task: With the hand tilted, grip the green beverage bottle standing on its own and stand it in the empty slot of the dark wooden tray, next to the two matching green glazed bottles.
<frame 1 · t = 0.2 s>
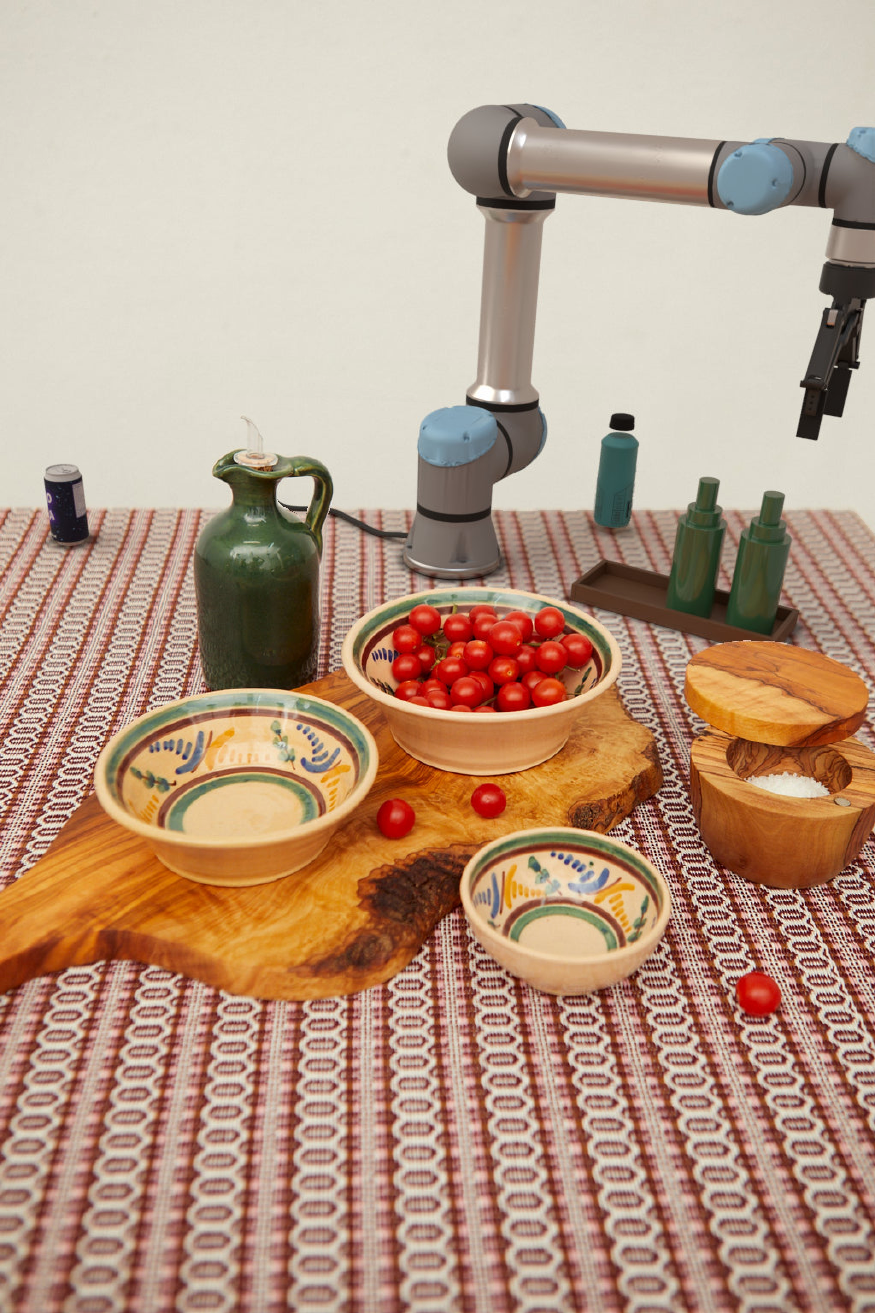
hand: (819, 426, 149), 28 cm above the table, tool pointing down, fingers open, 13 cm apart
tray: (681, 612, 160), on the table
green bottle A: (688, 610, 160), resting on tray
beverage bottle: (609, 530, 188), on the table
beverage can: (71, 541, 175), on the table
green bottle B: (748, 627, 156), resting on tray
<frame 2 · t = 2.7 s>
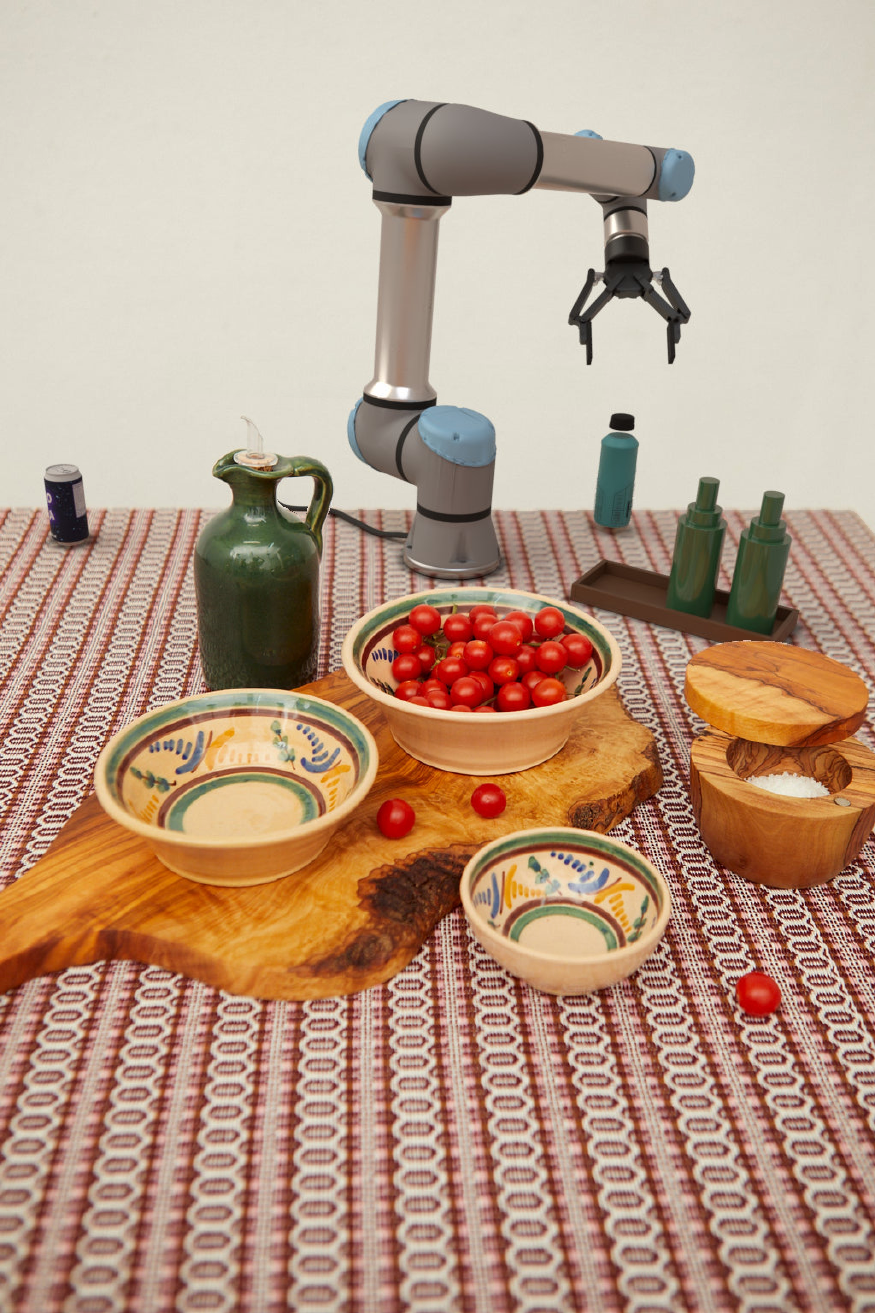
hand: (630, 360, 182), 27 cm above the table, tool tilted 40°, fingers open, 13 cm apart
nothing on the table moved.
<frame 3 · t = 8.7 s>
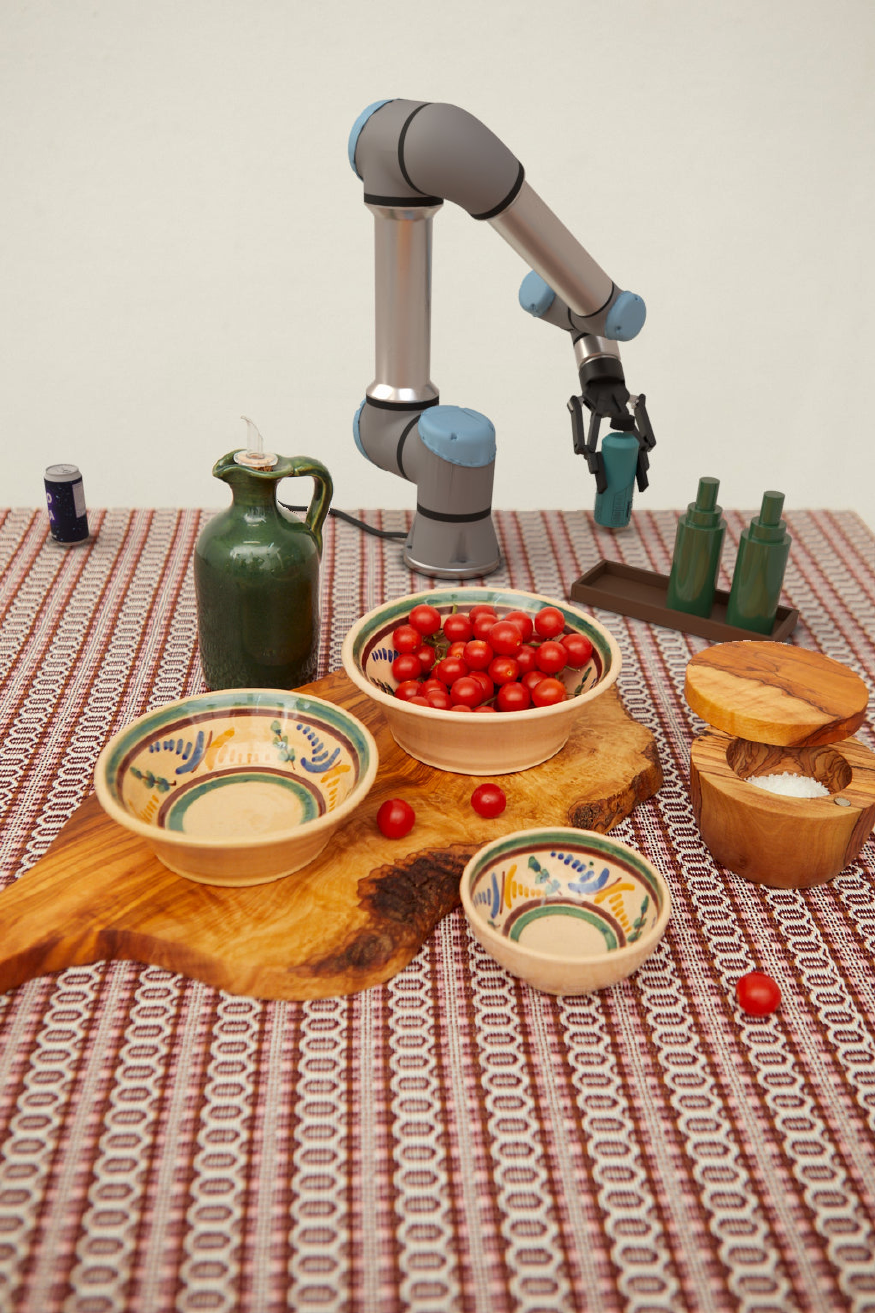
hand: (623, 489, 181), 8 cm above the table, tool tilted 45°, fingers closed on beverage bottle, 6 cm apart
beverage bottle: (609, 530, 188), on the table, touching gripper
everything else where it was.
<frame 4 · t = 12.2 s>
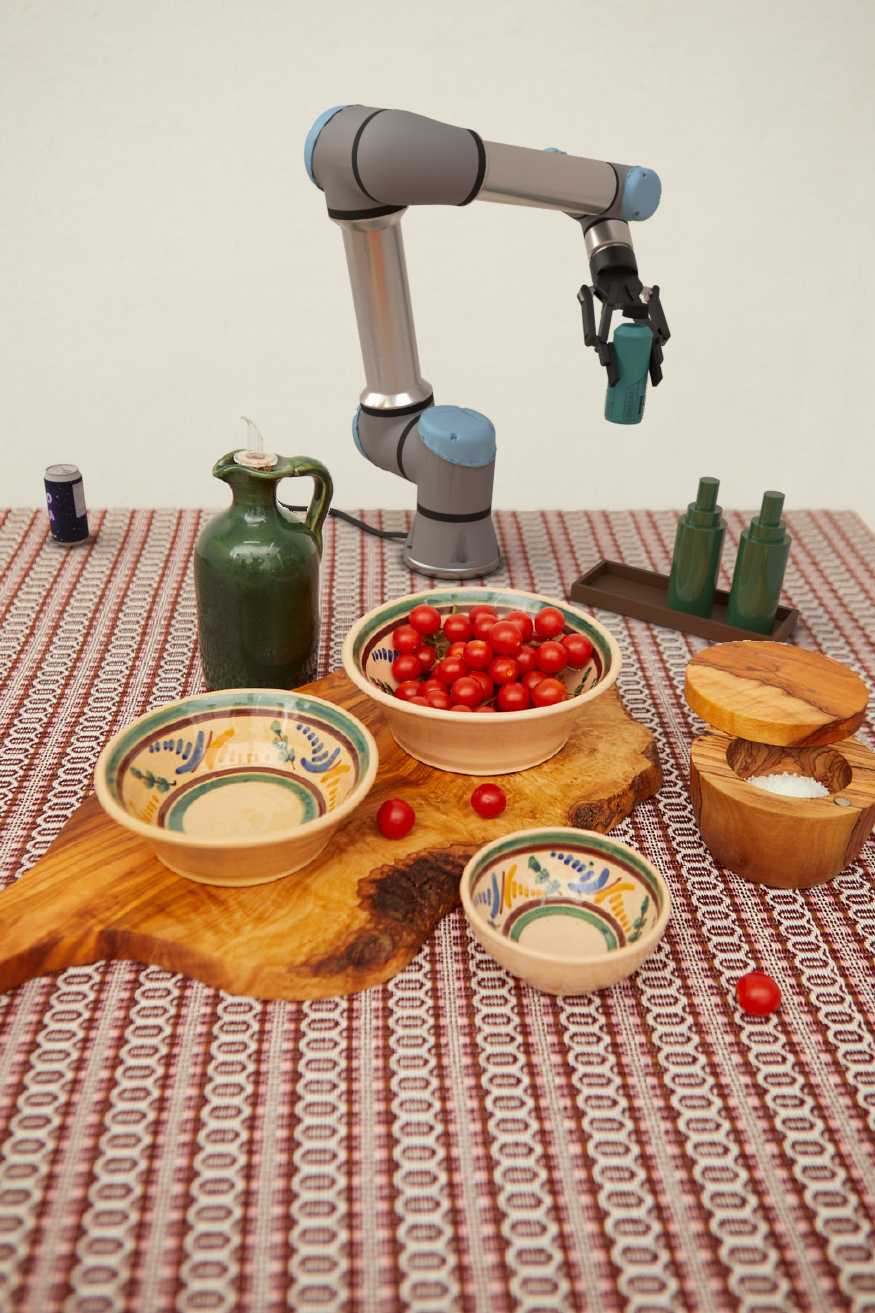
hand: (636, 382, 173), 26 cm above the table, tool tilted 45°, fingers closed on beverage bottle, 6 cm apart
beverage bottle: (621, 429, 180), point 18 cm above the table, touching gripper
everything else where it was.
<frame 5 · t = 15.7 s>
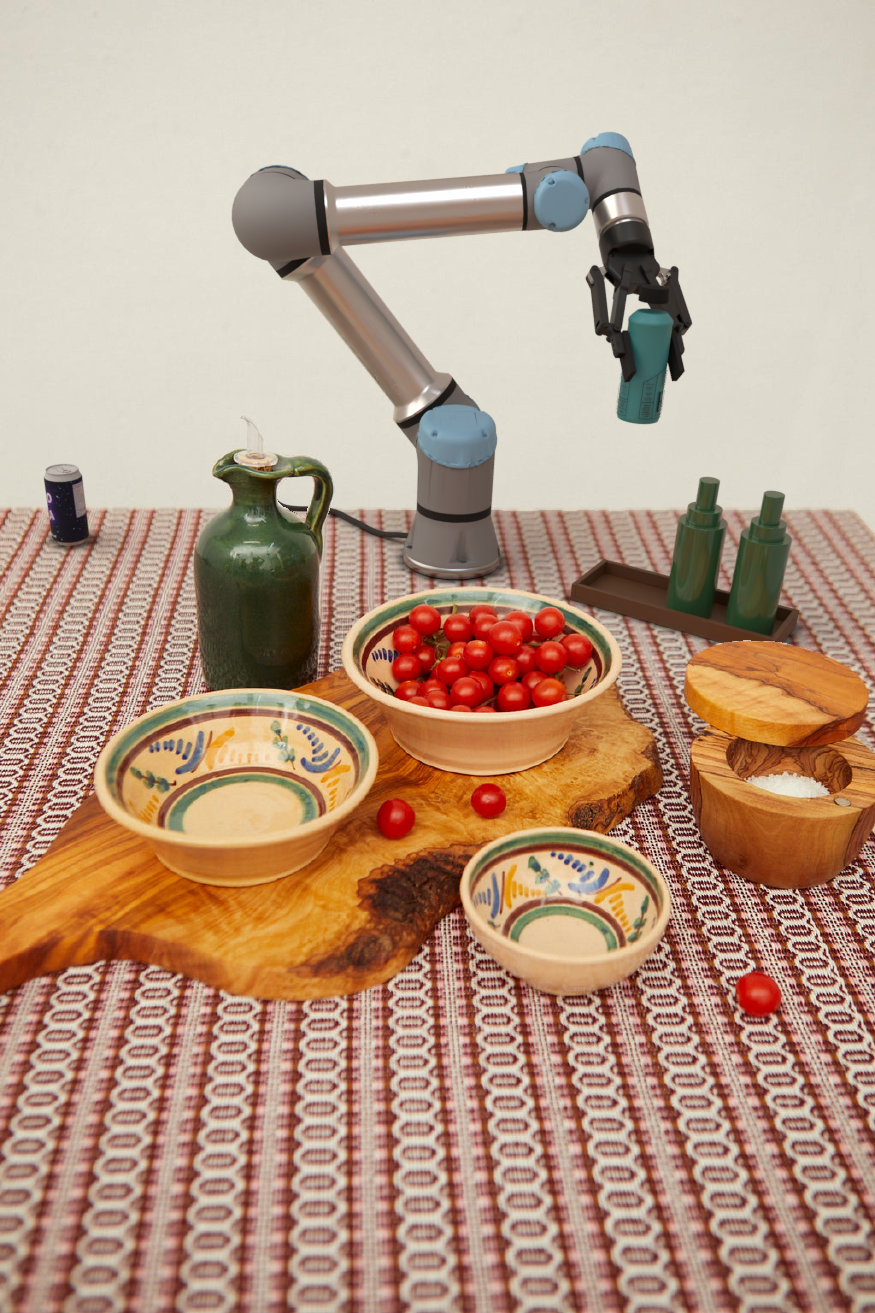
hand: (654, 376, 152), 32 cm above the table, tool tilted 45°, fingers closed on beverage bottle, 6 cm apart
beverage bottle: (635, 429, 159), point 24 cm above the table, touching gripper
everything else where it was.
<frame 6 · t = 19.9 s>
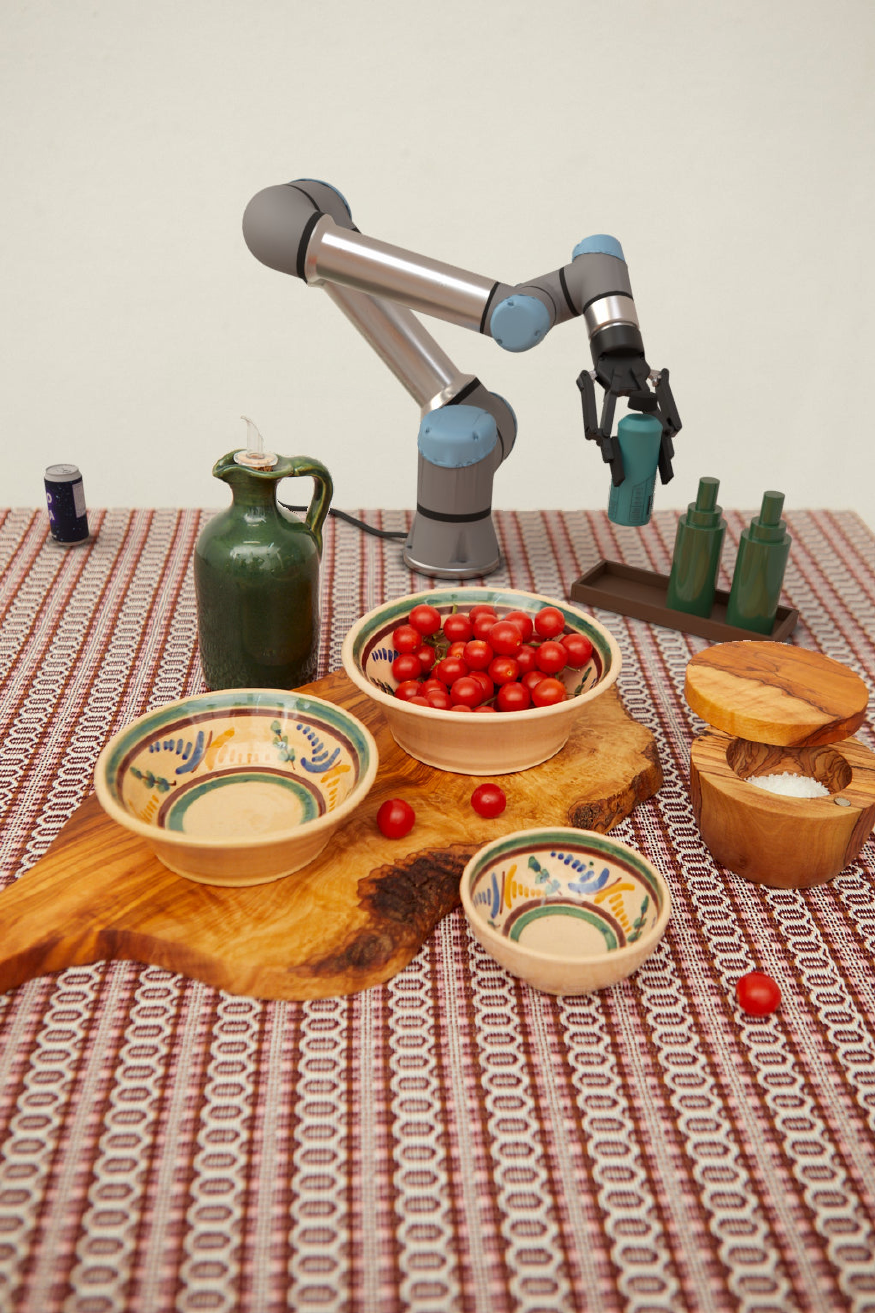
hand: (643, 481, 153), 19 cm above the table, tool tilted 45°, fingers closed on beverage bottle, 6 cm apart
beverage bottle: (626, 529, 160), point 11 cm above the table, touching gripper
everything else where it was.
when the fingers open (9 cm above the table, at t = 23.0 s): beverage bottle stays where it is, resting on tray.
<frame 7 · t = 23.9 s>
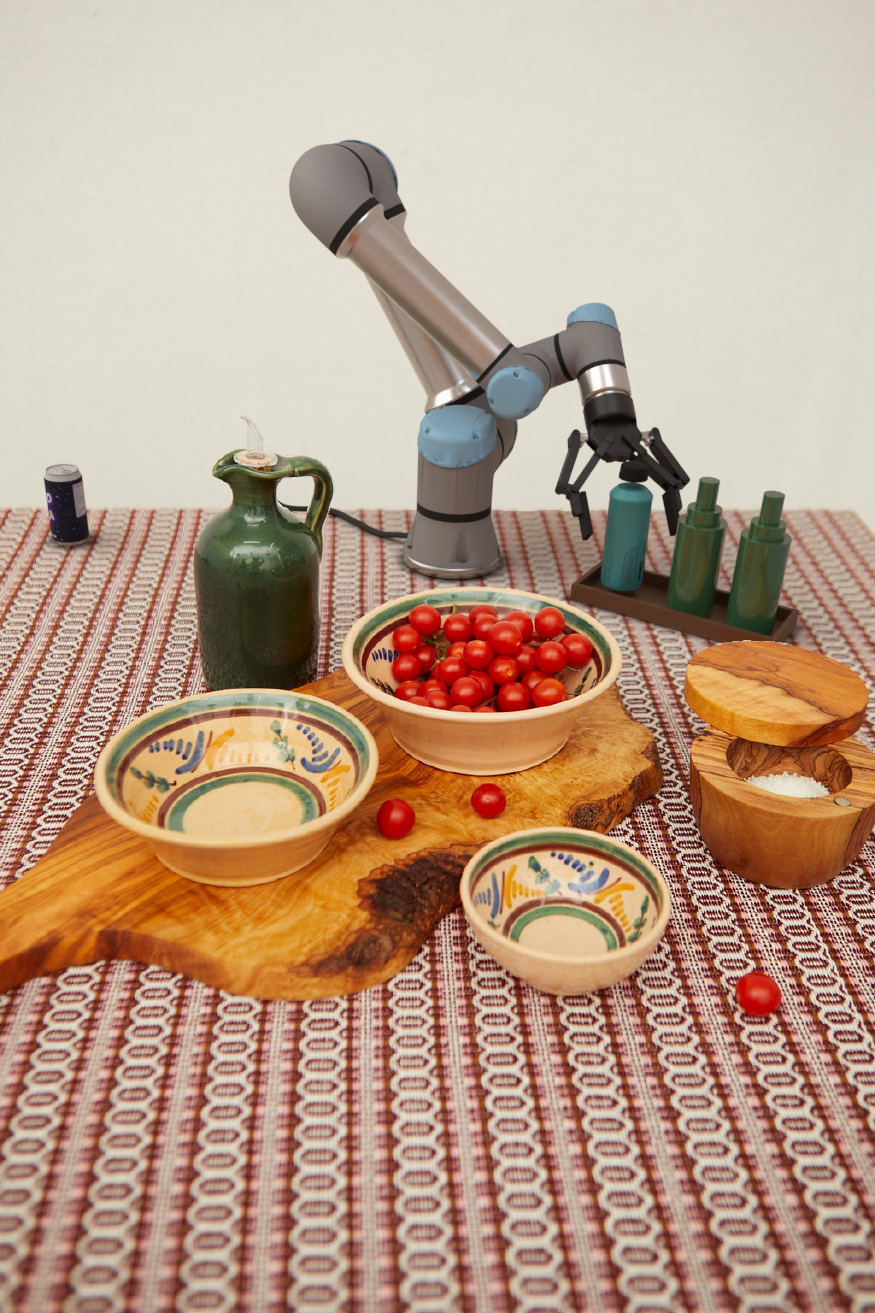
hand: (632, 534, 158), 11 cm above the table, tool tilted 45°, fingers open, 13 cm apart
beverage bottle: (619, 592, 165), resting on tray
everything else where it was.
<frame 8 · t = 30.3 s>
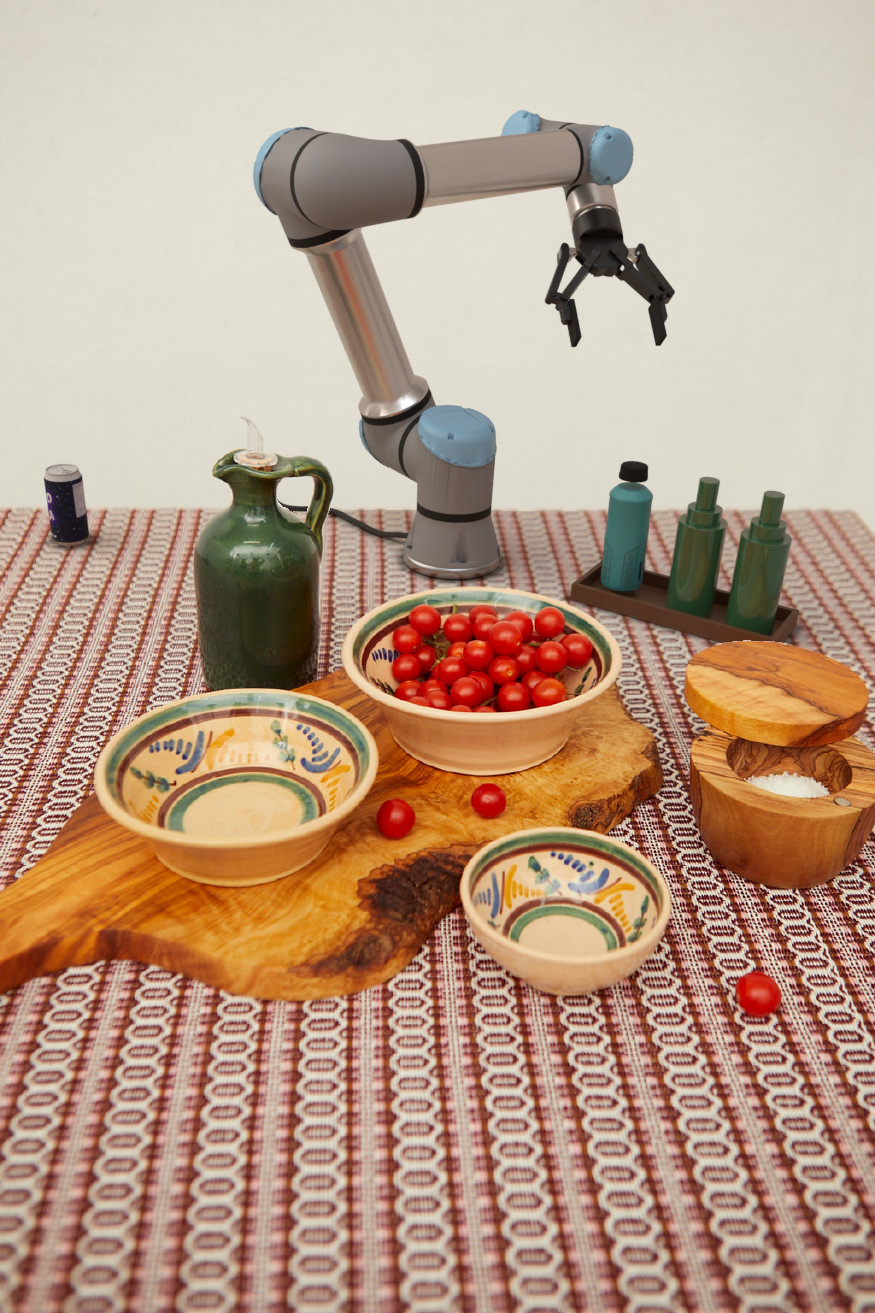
hand: (619, 341, 164), 34 cm above the table, tool tilted 45°, fingers open, 13 cm apart
nothing on the table moved.
at the end: beverage bottle inside the target area in the tray (0.1 cm from its centre), point 0.4 cm above the tray's base; beverage bottle tilted 0° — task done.
